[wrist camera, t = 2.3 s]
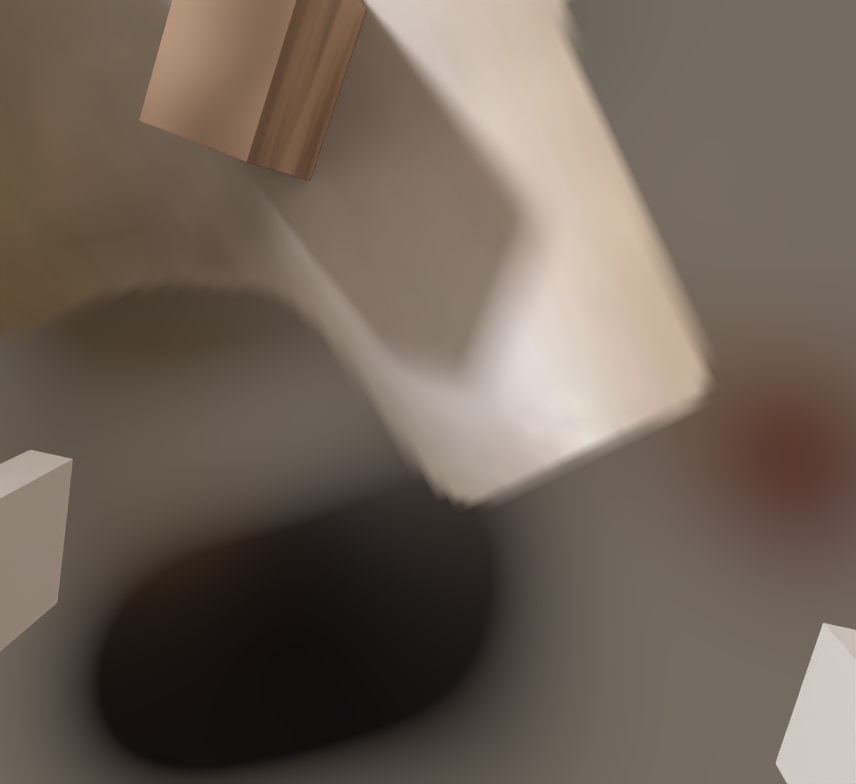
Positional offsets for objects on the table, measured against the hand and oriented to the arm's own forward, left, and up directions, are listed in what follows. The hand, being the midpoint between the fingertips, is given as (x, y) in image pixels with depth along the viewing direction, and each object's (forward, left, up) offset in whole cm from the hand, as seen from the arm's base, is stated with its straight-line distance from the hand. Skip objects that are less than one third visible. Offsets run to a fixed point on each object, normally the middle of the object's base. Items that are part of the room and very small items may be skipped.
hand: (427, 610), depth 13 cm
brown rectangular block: (-13, +10, -30) cm, 34 cm away
